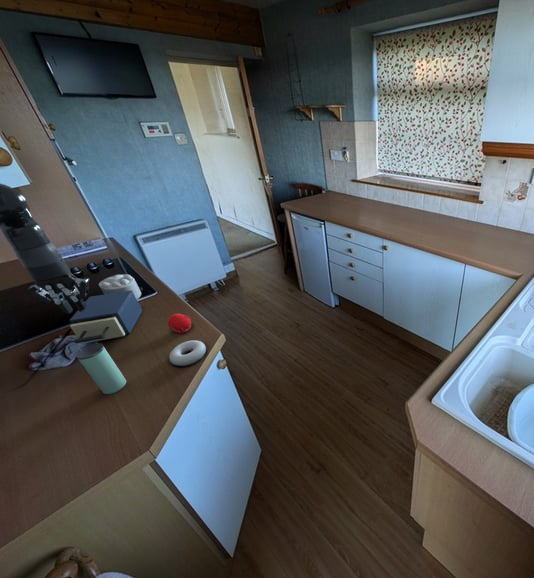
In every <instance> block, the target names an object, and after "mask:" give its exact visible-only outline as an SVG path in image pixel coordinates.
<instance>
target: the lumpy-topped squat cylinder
mask: <svg viewBox="0 0 534 578" xmlns="http://www.w3.org/2000/svg"><path fill="white" fill-rule="evenodd" d="M98 286H99V288H100V290H101V292H102V293H103V295H105V294H112V293H118V292H125V291H133V293H134V295H135V297H136V299H137V300H138V299H140V297H141V296H142V292H141V290H140V287H139V286H138V283H137V282H136V280H135V278H134V277H133V276H131V274H126V273H125V274H124V273H123V274H115V275H112V276H110V277H109V276H108V277H106V278H104V279H103V280H101V281H100V282H99V283H98Z"/></svg>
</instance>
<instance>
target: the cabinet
mask: <svg viewBox="0 0 534 578" xmlns="http://www.w3.org/2000/svg"><path fill="white" fill-rule="evenodd" d="M84 302H85V304H86V305H87V307H86V309H85V310H84V311H83V312H80V311H79V310H78V309H77V311H76V312H75V313H74V314H73V315H72V317H71V318H70V319H69V322H70V324H71V325H72V324H76V323H78V321H83V320H89V319H95V318H101V317H107V316H113V315H116V317H117V318H118V320H119V322H120V324H121V325H122V327H123V329H124V332H125V335H130V334H131V333H132V330H133V329H134V327H135V325H136V324H137V321H138V320H139V318H140V316H141V314H142V312H143V309H142V307H141V305H140V303H139V301H138V299H136V297H135V295H134V293H133V291H125V292H118V293H112V294H105V295H104V294H99V295H93V296H88V298H87V300H85V301H84Z"/></svg>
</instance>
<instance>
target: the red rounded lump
mask: <svg viewBox="0 0 534 578" xmlns="http://www.w3.org/2000/svg"><path fill="white" fill-rule="evenodd" d="M167 325H168V327H169V329H170V330H172V331H173V332H175V333H176V334H185V333H187V332H188V331H190V329H192V319H191V317H190V316H188V315H185V314H181V313H174V314H172V315H171V316H170V317H169V319H168V323H167Z"/></svg>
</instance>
